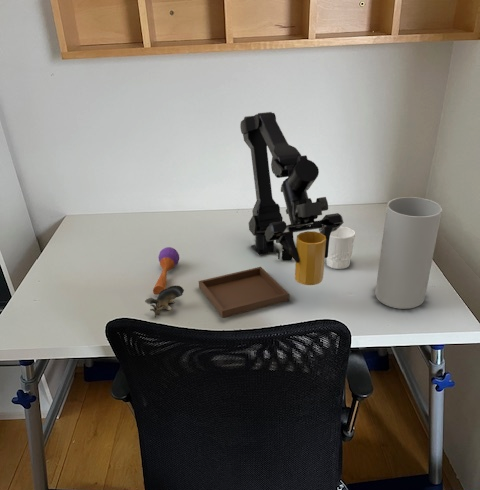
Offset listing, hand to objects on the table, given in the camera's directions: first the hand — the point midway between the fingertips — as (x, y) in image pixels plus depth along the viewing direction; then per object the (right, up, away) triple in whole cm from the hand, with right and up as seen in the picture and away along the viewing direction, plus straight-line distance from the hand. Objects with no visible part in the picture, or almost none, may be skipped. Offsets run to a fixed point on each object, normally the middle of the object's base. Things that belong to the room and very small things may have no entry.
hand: (312, 260), depth 130 cm
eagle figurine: (-36, -12, +8) cm, 39 cm away
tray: (-17, -8, +12) cm, 22 cm away
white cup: (+11, +2, +27) cm, 29 cm away
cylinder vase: (+24, -9, +10) cm, 28 cm away
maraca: (-38, -3, +22) cm, 44 cm away
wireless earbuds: (-4, +3, +30) cm, 30 cm away
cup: (0, -4, +4) cm, 6 cm away
